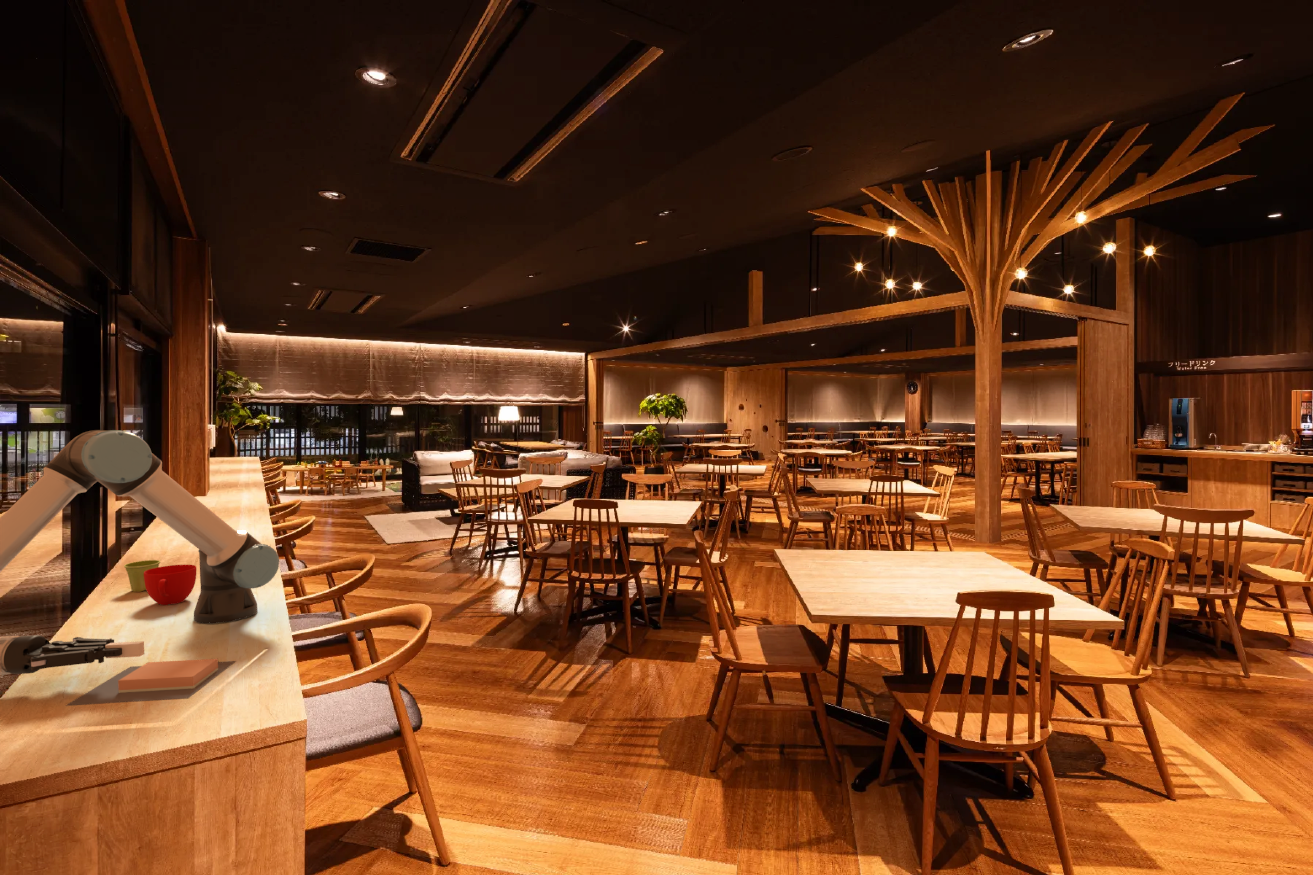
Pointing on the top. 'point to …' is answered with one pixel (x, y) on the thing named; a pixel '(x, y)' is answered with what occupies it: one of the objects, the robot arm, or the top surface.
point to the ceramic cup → (170, 583)
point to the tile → (168, 675)
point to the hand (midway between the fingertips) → (141, 648)
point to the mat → (110, 691)
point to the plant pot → (139, 573)
